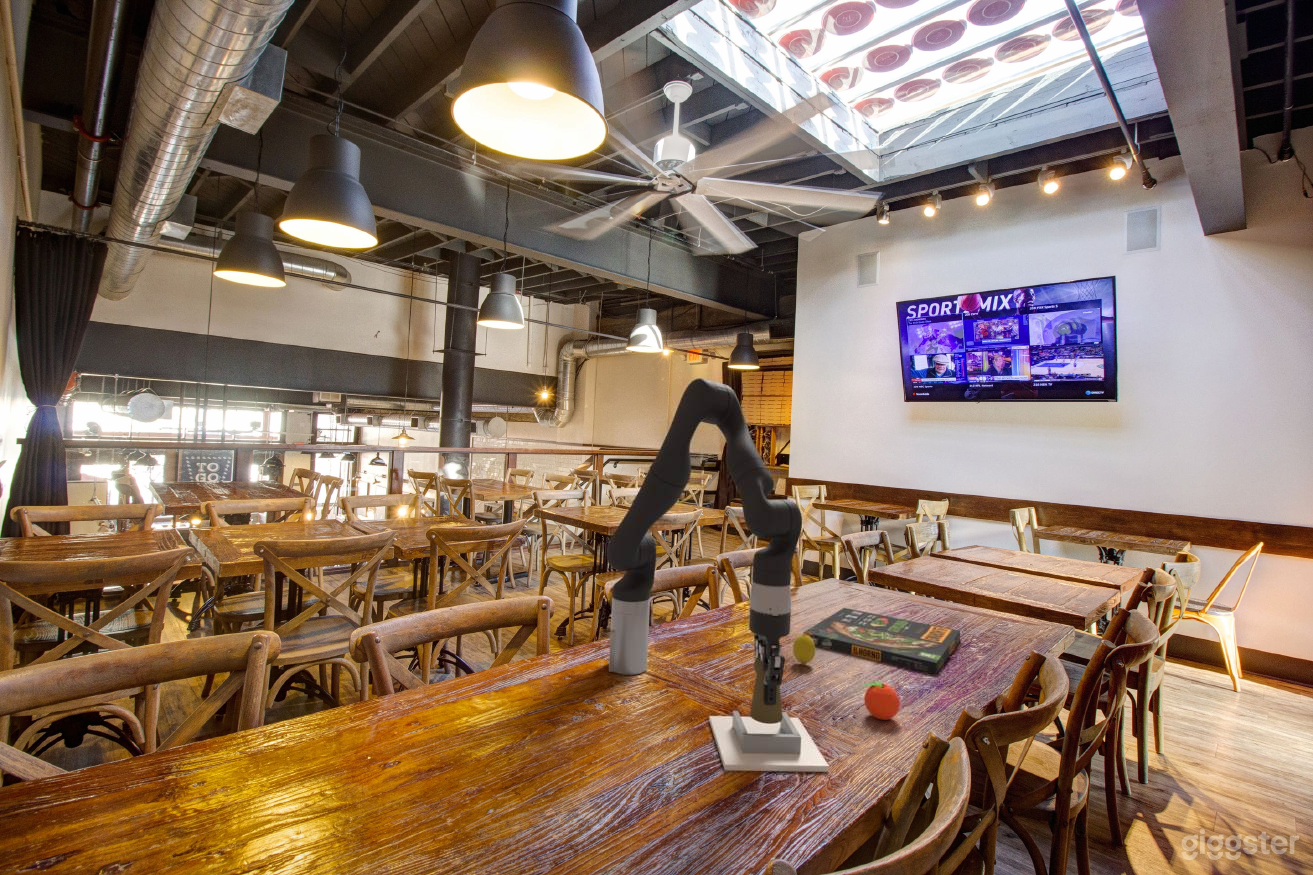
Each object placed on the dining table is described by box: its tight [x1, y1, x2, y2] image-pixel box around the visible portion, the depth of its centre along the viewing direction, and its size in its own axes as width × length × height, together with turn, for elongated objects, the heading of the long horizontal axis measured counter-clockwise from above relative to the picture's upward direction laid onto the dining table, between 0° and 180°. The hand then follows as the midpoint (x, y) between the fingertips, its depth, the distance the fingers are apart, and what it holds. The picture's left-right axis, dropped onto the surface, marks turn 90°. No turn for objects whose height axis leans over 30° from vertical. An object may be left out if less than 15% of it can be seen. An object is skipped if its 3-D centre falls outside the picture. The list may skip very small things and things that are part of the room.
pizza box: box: [803, 607, 961, 675], centre depth 175 cm, size 35×35×4 cm
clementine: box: [859, 682, 901, 721], centre depth 125 cm, size 8×7×7 cm
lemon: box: [792, 632, 816, 666], centre depth 153 cm, size 6×6×8 cm
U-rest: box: [708, 710, 830, 773], centre depth 111 cm, size 18×18×4 cm
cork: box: [749, 655, 783, 724], centre depth 111 cm, size 6×6×11 cm
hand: (766, 698), depth 111 cm, fingers closed on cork, 4 cm apart
